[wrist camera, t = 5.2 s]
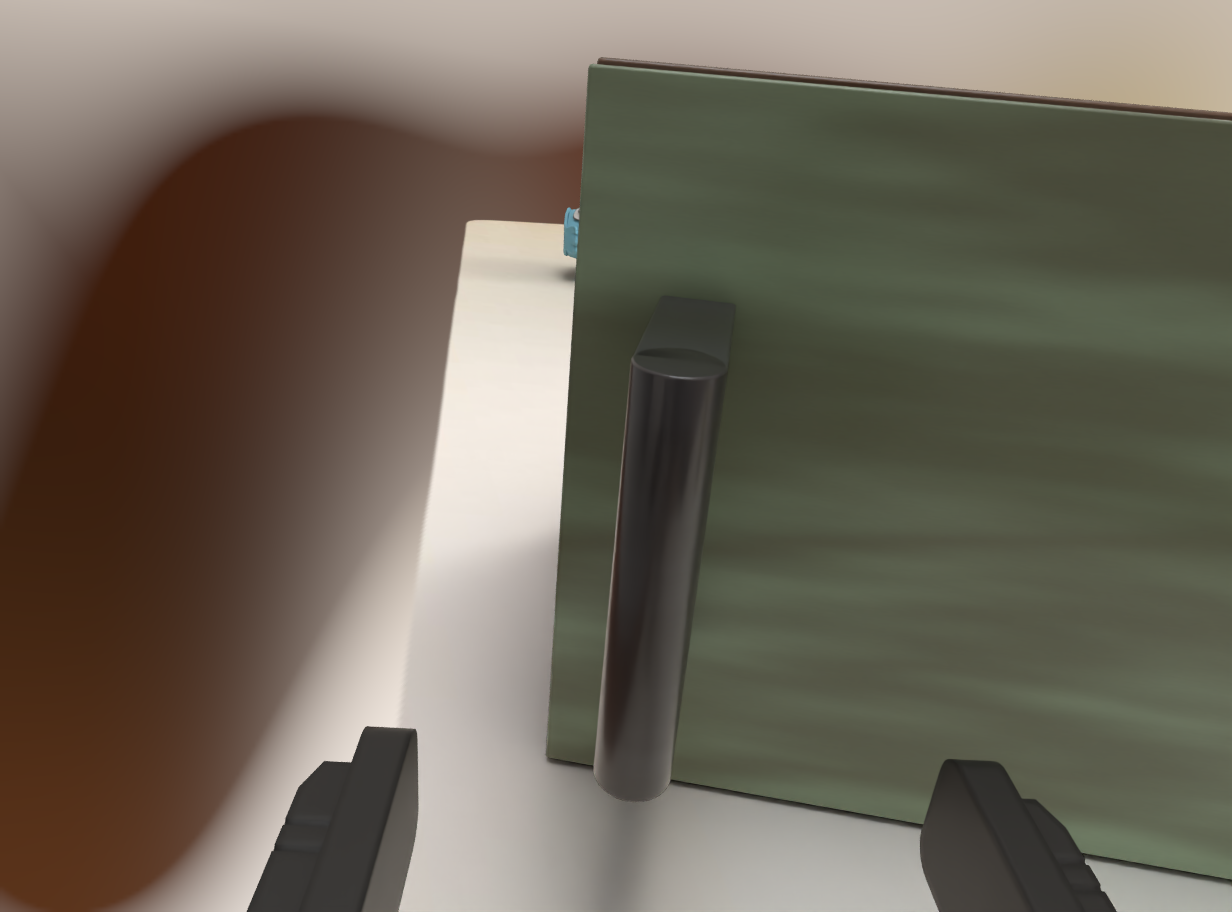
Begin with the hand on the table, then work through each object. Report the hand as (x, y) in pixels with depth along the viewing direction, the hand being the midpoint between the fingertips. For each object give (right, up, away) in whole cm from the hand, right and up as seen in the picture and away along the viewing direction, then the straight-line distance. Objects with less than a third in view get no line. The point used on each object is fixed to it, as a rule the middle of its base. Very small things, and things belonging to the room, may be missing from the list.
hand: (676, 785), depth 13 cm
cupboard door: (+8, -7, +10) cm, 15 cm away
